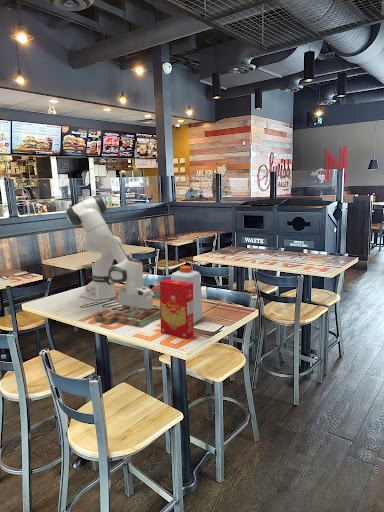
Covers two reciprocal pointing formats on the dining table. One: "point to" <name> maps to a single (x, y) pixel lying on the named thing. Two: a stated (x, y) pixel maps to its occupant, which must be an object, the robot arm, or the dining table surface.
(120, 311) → the dining table surface
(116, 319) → the trap lane
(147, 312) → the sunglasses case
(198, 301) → the plastic bottle
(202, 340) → the dining table surface
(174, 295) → the food packaging
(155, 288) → the cupcake
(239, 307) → the dining table surface
